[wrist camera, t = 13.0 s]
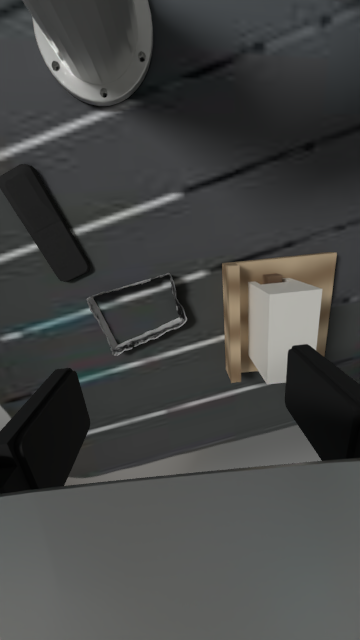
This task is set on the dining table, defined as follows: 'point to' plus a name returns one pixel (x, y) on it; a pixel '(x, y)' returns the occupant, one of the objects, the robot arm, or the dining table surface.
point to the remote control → (44, 222)
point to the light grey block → (280, 323)
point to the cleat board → (292, 270)
